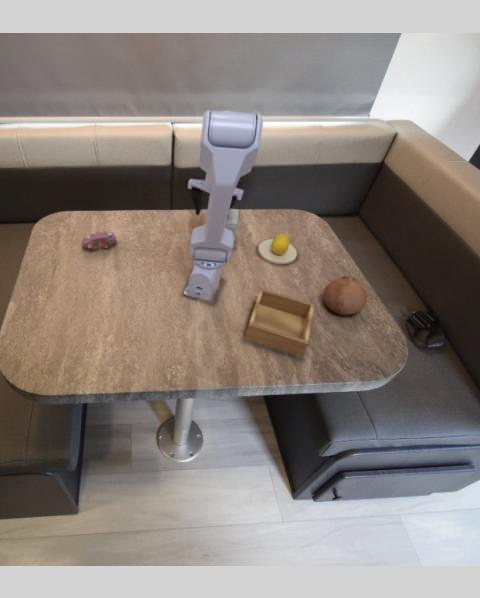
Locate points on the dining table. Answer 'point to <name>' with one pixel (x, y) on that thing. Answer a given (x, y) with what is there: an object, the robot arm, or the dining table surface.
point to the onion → (345, 296)
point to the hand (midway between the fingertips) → (211, 216)
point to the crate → (281, 322)
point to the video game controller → (99, 240)
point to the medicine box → (232, 222)
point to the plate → (275, 258)
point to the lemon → (280, 244)
